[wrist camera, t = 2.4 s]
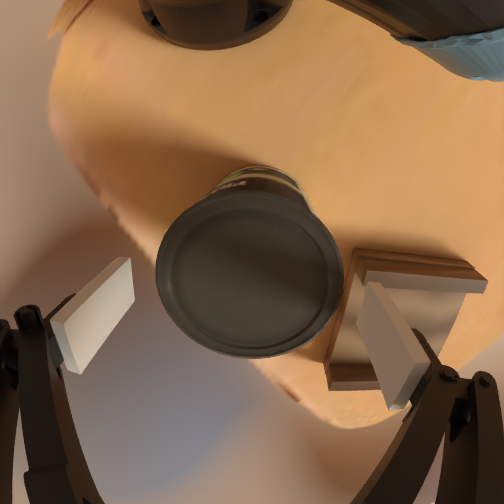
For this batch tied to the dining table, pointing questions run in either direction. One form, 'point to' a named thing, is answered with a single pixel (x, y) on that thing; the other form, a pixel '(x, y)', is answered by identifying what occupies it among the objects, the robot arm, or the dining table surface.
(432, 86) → the dining table surface
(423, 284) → the stand
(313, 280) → the coffee can
